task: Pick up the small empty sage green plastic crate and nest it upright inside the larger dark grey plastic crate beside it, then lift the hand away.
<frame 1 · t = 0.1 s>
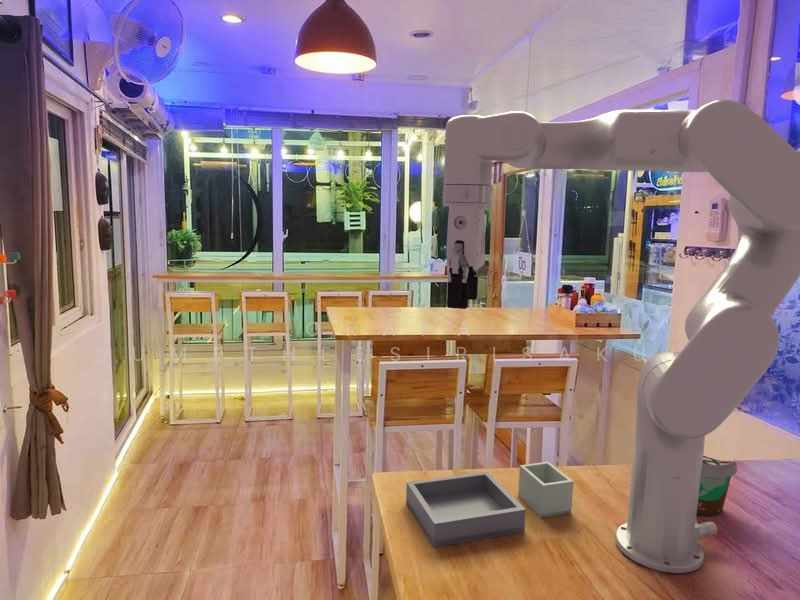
hand: (462, 303, 91), 37 cm above the table, tool pointing down, fingers open, 9 cm apart
small crate: (543, 504, 101), on the table
food container: (693, 511, 100), on the table
big crate: (462, 516, 96), on the table
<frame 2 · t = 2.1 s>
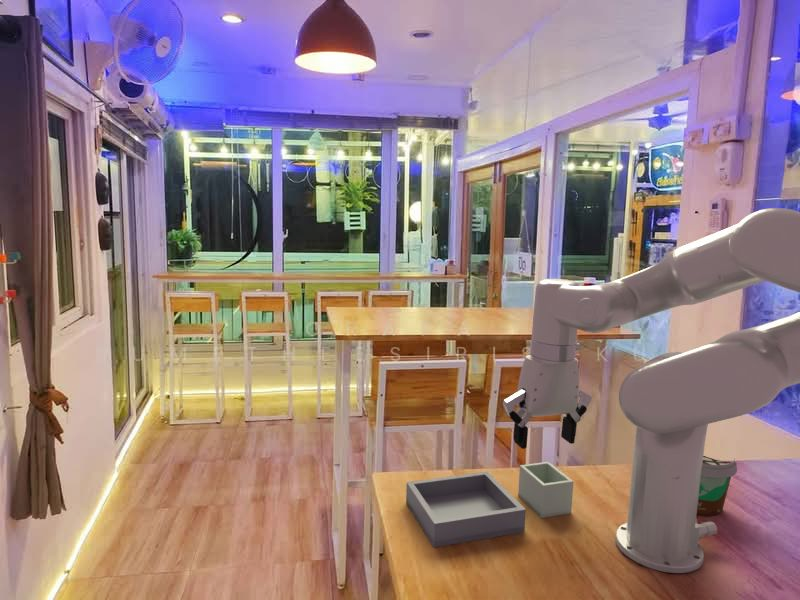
hand: (544, 443, 100), 11 cm above the table, tool pointing down, fingers open, 9 cm apart
nothing on the table moved.
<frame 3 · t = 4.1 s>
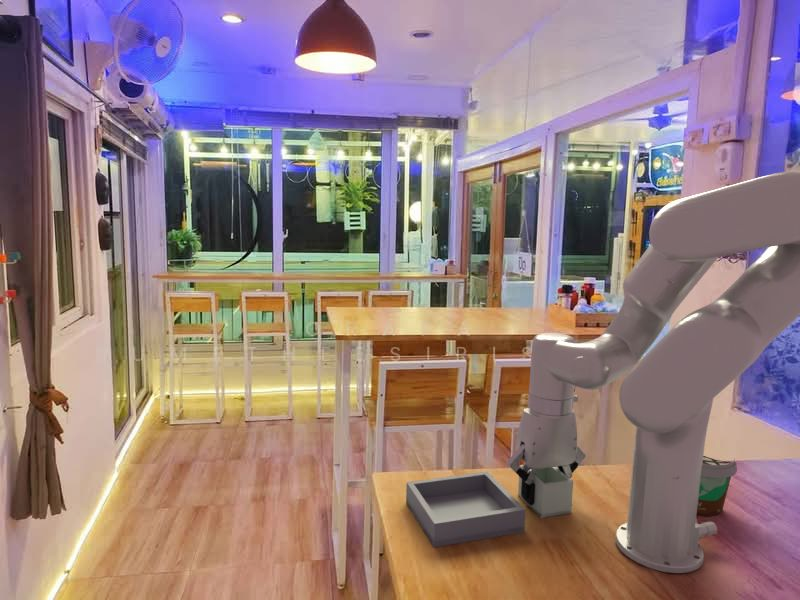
hand: (544, 497, 101), 1 cm above the table, tool pointing down, fingers closed on small crate, 6 cm apart
small crate: (543, 504, 101), on the table, touching gripper
everything else where it was.
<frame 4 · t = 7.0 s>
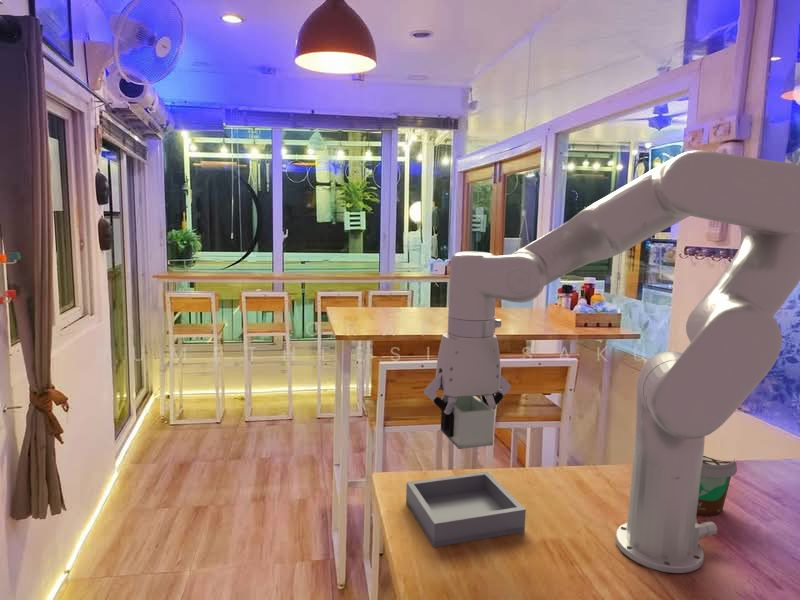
hand: (466, 431, 94), 16 cm above the table, tool pointing down, fingers closed on small crate, 6 cm apart
small crate: (465, 437, 94), point 14 cm above the table, touching gripper
everything else where it was.
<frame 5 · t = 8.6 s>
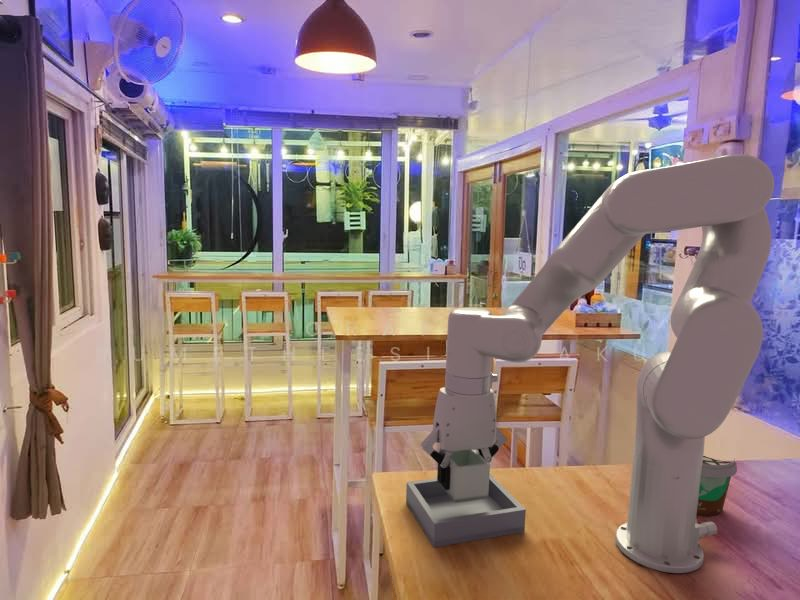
hand: (462, 482, 95), 6 cm above the table, tool pointing down, fingers closed on small crate, 6 cm apart
small crate: (461, 488, 96), point 5 cm above the table, touching gripper
everything else where it was.
when the fingers open (3 cm above the table, at t = 10.0 s): small crate drops 1 cm, resting on big crate.
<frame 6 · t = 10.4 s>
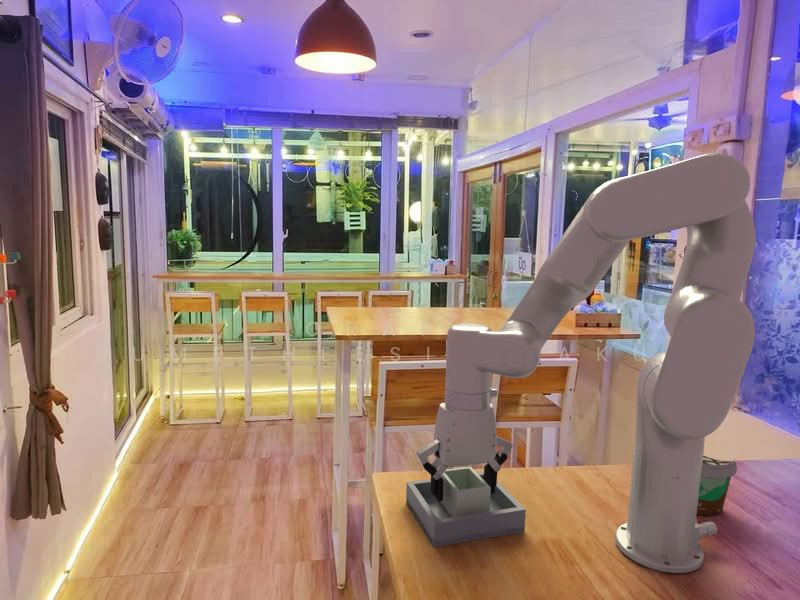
hand: (463, 493, 96), 4 cm above the table, tool pointing down, fingers open, 9 cm apart
small crate: (462, 511, 96), point 1 cm above the table, touching big crate
everything else where it was.
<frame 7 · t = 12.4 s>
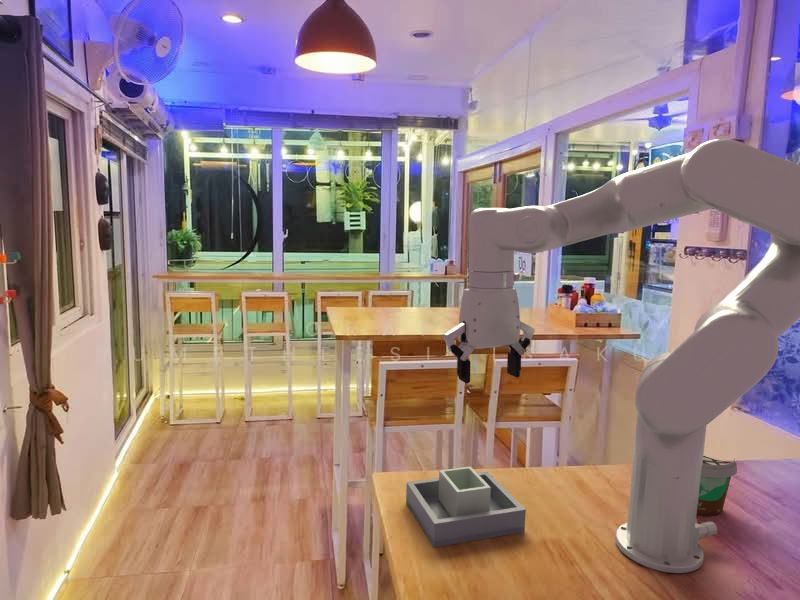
hand: (489, 378, 98), 23 cm above the table, tool pointing down, fingers open, 9 cm apart
nothing on the table moved.
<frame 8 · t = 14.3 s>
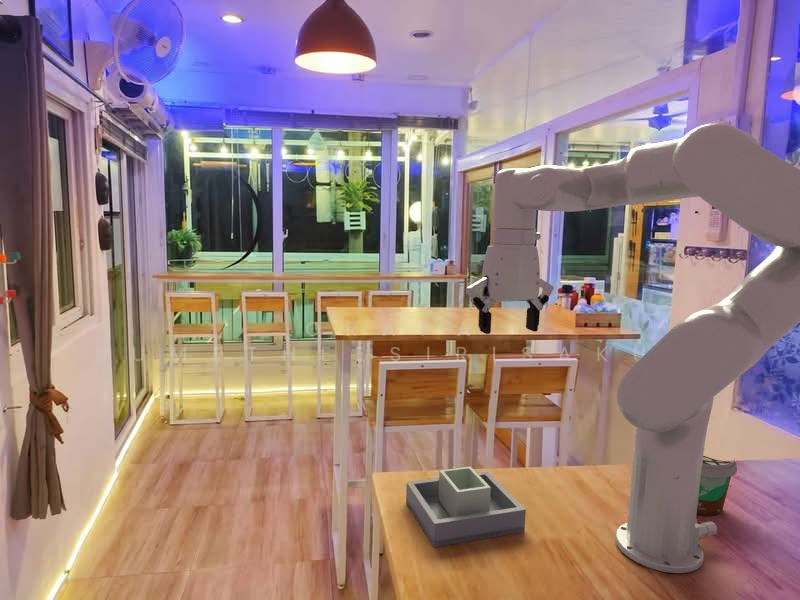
hand: (508, 331, 104), 30 cm above the table, tool pointing down, fingers open, 9 cm apart
nothing on the table moved.
at the end: small crate inside the target area on the big crate (0.0 cm from its centre), point 1.0 cm above the big crate's base; small crate tilted 0°; the gripper is holding nothing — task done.
